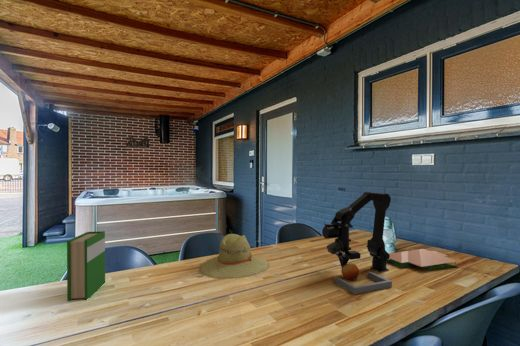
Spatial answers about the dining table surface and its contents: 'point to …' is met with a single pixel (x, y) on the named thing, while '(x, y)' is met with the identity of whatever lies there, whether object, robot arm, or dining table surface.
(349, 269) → the fruit
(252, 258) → the straw hat
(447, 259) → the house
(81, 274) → the hardback book
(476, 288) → the dining table surface
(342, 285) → the corral
